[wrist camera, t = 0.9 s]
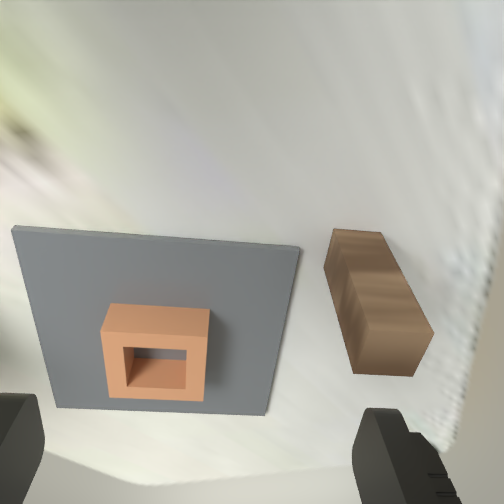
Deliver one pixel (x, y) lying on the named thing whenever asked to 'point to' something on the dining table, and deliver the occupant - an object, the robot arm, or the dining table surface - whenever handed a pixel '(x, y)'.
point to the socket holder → (156, 319)
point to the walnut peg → (375, 305)
